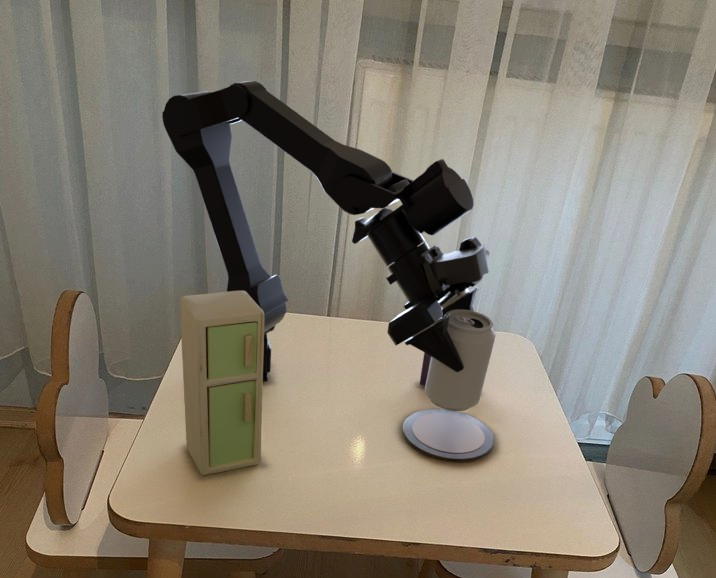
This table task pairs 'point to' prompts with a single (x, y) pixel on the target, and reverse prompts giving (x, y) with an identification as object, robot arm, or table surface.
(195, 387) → the toy refrigerator
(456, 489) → the table surface
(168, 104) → the robot arm
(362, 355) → the table surface
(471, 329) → the can
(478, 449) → the coaster
